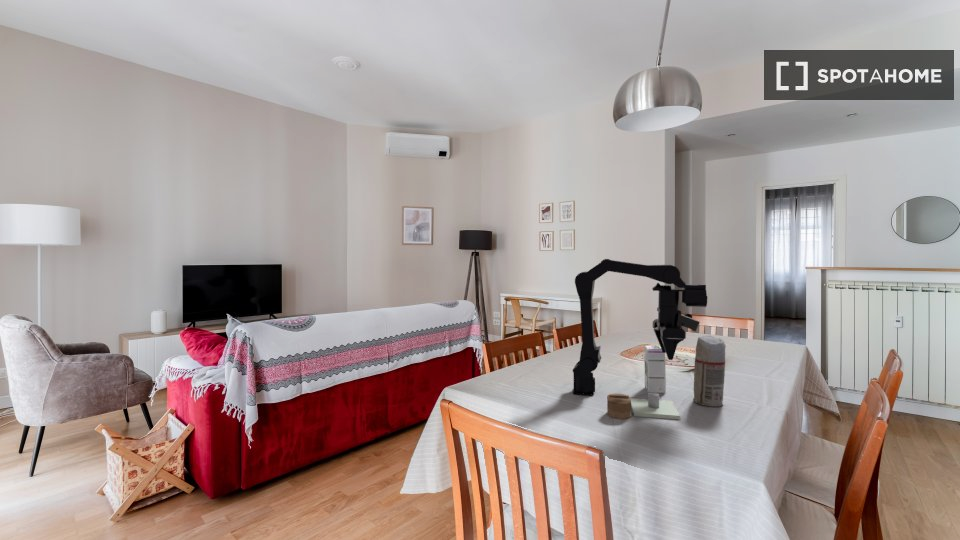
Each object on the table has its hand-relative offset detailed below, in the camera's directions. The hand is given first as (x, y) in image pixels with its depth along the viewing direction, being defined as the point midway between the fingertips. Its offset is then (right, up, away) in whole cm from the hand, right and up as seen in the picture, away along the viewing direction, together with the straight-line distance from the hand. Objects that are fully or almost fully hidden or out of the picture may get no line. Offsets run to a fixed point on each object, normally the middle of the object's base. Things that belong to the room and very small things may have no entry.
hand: (667, 356), depth 130 cm
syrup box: (0, -14, +10) cm, 17 cm away
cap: (-18, -14, -10) cm, 26 cm away
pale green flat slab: (-7, -14, -7) cm, 17 cm away
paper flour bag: (+12, -14, -2) cm, 18 cm away
